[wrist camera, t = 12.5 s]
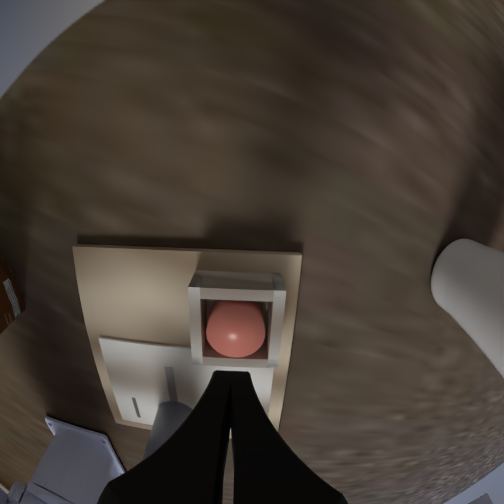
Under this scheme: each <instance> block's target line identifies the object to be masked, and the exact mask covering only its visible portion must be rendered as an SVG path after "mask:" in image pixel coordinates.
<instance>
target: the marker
mask: <svg viewBox="0 0 504 504" xmlns="http://www.w3.org/2000/svg"><path fill="white" fill-rule="evenodd" d="M191 411H192V409H191V408H190V407H189V406H187V405H185V404H183V403H180V402H175V401H167V402H164V403H162V404H160V405H159V407H158V410H157V413H156V416H155V420H154V423H153V426H152V429H151V433H150V436H149V439H148V443H147V446H146V450H145V453H144V456H143V460H144V459H146V458H147V457H148V456H150V455H151V454H152V453H153V452H155V451H156V450H157V449H158V448H159V447H160V446H161V445H162V444H163V443H164V442H166V441H167V440H168V439H169V438H170V437H171V436H172V434H173V433H174V432H175V431H176V430H177V429H178V428H179V427H180V426H181V424H182V423H183V422H184V421H185V419H186V418H187V417H188V415H189V414H190V413H191ZM143 460H142V461H143Z"/></svg>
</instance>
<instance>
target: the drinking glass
mask: <svg viewBox="0 0 504 504" xmlns="http://www.w3.org/2000/svg"><path fill="white" fill-rule="evenodd" d="M431 291H432V295H433V297H434V299H435V301H436V302H437V304H438V305H439V306H440V307H441V308H443V309H444V310H445V311H446V312H447V313H448V314H450V315H451V316H452V317H453V319H454V320H455V321H456V322H457V323H458V324H459V325H460V326H461V327H462V328H463V329H464V331H465V332H466V333H467V334H468V335H469V336H470V337H471V339H472V340H473V341H474V342H475V343H476V344H477V346H478V347H479V348H480V349H481V350H482V352H483V353H484V354H485V355H486V356H487V358H488V359H489V360H490V361H491V363H492V364H493V365H494V367H495V368H496V369H497V370H498V372H499V373H500V374H501V376H502V377H503V378H504V251H501V250H498V249H495V248H492V247H488V246H485V245H483V244H481V243H479V242H476V241H474V240H471V239H458V240H456V241H454V242H452V243H450V244H449V245H448V246H447V247H446V248H445V249H444V250H443V251H442V252H441V254H440V255H439V257H438V259H437V260H436V262H435V265H434V268H433V271H432V276H431Z"/></svg>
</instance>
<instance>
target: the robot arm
mask: <svg viewBox="0 0 504 504" xmlns="http://www.w3.org/2000/svg"><path fill="white" fill-rule="evenodd" d="M45 421H46V423H47V424H48V426H49V428H50V430H51V431H52V433H53V435H54V437H53V439H52V440H51V442H50V444H49V446H48V448H47V449H46V451H45V453H44V455H43V457H42V459H41V460H40V462H39V464H38V466H37V468H36V470H35V472H34V474H33V476H32V478H31V480H30V482H29V483H28V484H27V485H26V486H25V484H24V483H23V482H14V484H13V485H12V487H11V489H10V491H9V493H8V495H7V493H5V492H4V491H3V490H2V489H1V488H0V504H222V499H223V477H224V469H225V462H226V456H227V449H228V443H229V436H230V429H231V438H232V450H233V462H234V499H233V504H348V503H347V501H346V499H345V497H344V496H343V494H342V493H340V492H339V491H337V490H336V489H334V488H333V487H331V486H330V485H329V484H327V483H326V482H325V481H324V480H322V479H321V478H320V477H319V476H317V475H316V474H315V473H314V472H313V471H312V470H311V469H310V468H309V467H307V466H306V465H305V464H304V463H303V462H302V461H301V460H300V459H299V458H298V457H297V455H296V454H295V453H294V452H293V451H292V450H291V449H290V447H289V446H288V445H287V444H286V443H285V441H284V440H283V439H282V437H281V436H280V435H279V433H278V432H277V430H276V429H275V427H274V426H273V424H272V423H271V421H270V419H269V418H268V416H267V414H266V412H265V410H264V408H263V406H262V405H261V403H260V401H259V398H258V396H257V394H256V391H255V389H254V386H253V383H252V379H251V374H250V373H249V372H248V371H224V370H216V371H214V372H213V374H212V377H211V379H210V381H209V384H208V386H207V387H206V389H205V391H204V393H203V395H202V396H201V398H200V399H199V401H198V403H197V404H196V406H195V407H194V409H193V410H192V411H191V413H190V414H189V415H188V417H187V418H186V419H185V421H184V422H183V423H182V424H181V426H180V427H179V428H178V429H177V430H176V431H175V432H174V433H173V434H172V436H171V437H170V438H169V439H168V440H167V441H166V442H164V443H163V444H162V445H161V446H160V447H159V448H158V449H157V450H156V451H155V452H153V453H152V454H151V455H150V456H148V457H147V458H146V459H144V460H143V461H142V462H140V463H139V464H137V465H136V466H135V467H133V468H132V469H130V470H129V471H127V472H125V470H124V469H123V467H122V465H121V463H120V461H119V459H118V457H117V455H116V454H115V452H114V450H113V448H112V446H111V443H110V441H109V439H108V437H107V436H106V435H104V434H102V433H98V432H94V431H91V430H87V429H84V428H80V427H77V426H74V425H71V424H68V423H65V422H62V421H59V420H56V419H53V418H51V417H48V416H46V417H45ZM469 504H493V502H492V501H491V499H490V497H489V495H488V494H484V495H483V496H481V497H479V498H478V499H476V500H474V501H473V502H471V503H469Z"/></svg>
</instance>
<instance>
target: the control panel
mask: <svg viewBox="0 0 504 504" xmlns="http://www.w3.org/2000/svg"><path fill="white" fill-rule="evenodd" d="M72 248H73V256H74V264H75V271H76V277H77V284H78V290H79V295H80V301H81V306H82V311H83V315H84V320H85V324H86V329H87V333H88V337H89V341H90V345H91V349H92V353H93V356H94V360H95V363H96V367H97V370H98V373H99V377H100V380H101V383H102V386H103V389H104V392H105V395H106V398H107V401H108V403H109V406H110V409H111V412H112V414H113V417H114V419H115V422H116V423H119V424H123V425H128V426H133V427H138V428H144V429H149V430H151V429H152V426H153V423H154V420H155V416H156V413H157V410H158V407H159V405H160V404H162V403H164V402H167V401H175V402H180V403H183V404H185V405H187V406H189V407H190V408H191V409H192V410H193V409H194V407H195V406H196V404H197V403H198V401H199V399H200V398H201V396H202V395H203V393H204V391H205V389H206V387H207V386H208V384H209V381H210V379H211V377H212V374H213V372H214V371H216V370H224V371H248V372H249V373H250V374H251V379H252V383H253V386H254V389H255V391H256V394H257V396H258V398H259V401H260V403H261V405H262V406H263V408H264V410H265V412H266V414H267V416H268V418H269V419H270V421H271V423H272V424H273V426H274V427H275V429H276V430H277V432H278V428H279V422H280V416H281V411H282V405H283V399H284V392H285V386H286V380H287V373H288V366H289V360H290V353H291V345H292V338H293V330H294V323H295V315H296V307H297V298H298V289H299V280H300V271H301V261H302V255H301V253H300V252H277V251H251V250H225V249H199V248H173V247H146V246H119V245H92V244H76V245H74V246H72ZM216 300H238V301H258V302H259V303H260V305H261V307H262V310H263V317H264V326H265V339H264V342H263V344H262V345H261V347H260V348H259V349H258V350H257V351H256V352H254V353H252V354H250V355H248V356H245V357H228V356H225V355H222V354H220V353H219V352H217V351H216V350H215V349H214V348H212V346H211V345H210V343H209V342H208V339H207V335H206V329H207V324H208V320H209V316H210V311H211V308H212V305H213V303H214V302H215V301H216ZM229 438H231V429H230V436H229Z"/></svg>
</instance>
